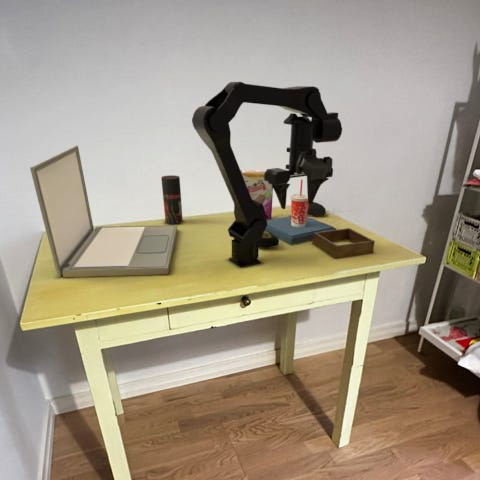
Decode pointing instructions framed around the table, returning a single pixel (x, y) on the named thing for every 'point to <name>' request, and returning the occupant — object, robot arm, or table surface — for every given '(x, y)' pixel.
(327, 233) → the open box
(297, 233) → the blue square platform
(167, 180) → the deodorant
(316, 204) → the gaming mouse
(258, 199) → the candy bar box
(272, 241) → the tape measure
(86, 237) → the laptop
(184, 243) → the table surface
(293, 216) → the beverage cup
